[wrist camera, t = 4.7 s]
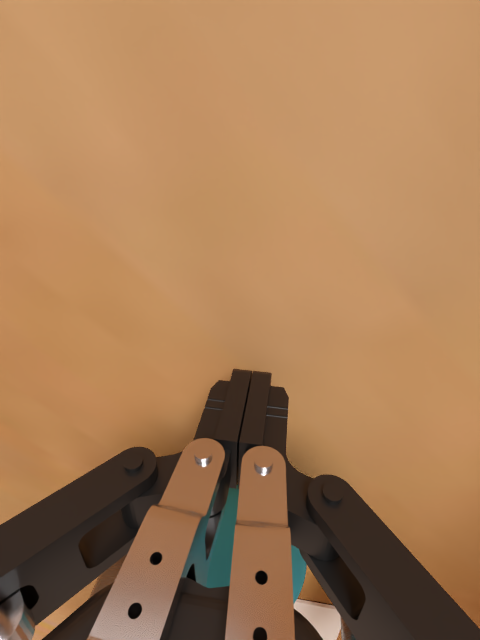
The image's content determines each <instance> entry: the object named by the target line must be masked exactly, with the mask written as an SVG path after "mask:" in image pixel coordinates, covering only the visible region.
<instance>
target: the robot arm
mask: <svg viewBox="0 0 480 640" xmlns="http://www.w3.org/2000/svg"><path fill="white" fill-rule="evenodd" d="M288 399H289V397H288V395H287V393H286V391H285V389H284V388H283V387H274V386H271V373H268V372H259V371H253V374H252V371H249V370H240V369H233V373H232V376H231V380H230V381H221V380H219V381H218V382H217V383H216V384H215V385H214V386H213V387H212V388H211V390H210V393H209V396H208V400H207V402H206V405H205V409H204V411H203V414H202V417H201V420H200V423H199V426H198V429H197V432H196V435H195V438H194V440H193V441H192V442H190V443H189V444H188V445H187V446H186V447H185V448H184V450H183V451H182V452H180V453H177V454H174V455H169V456H162V457H155V454H154V453H153V452H152V451H151V450H149V449H147V448H144V447H134V448H130V449H127V450H125V451H123V452H121V453H120V454H118V455H116V456H115V457H113V458H111V459H110V460H108V461H106V462H105V463H103V464H101V465H100V466H98V467H96V468H95V469H93V470H91V471H90V472H88V473H86V474H85V475H83V476H81V477H80V478H78V479H76V480H75V481H73V482H71V483H70V484H68V485H66V486H65V487H63V488H61V489H60V490H58V491H56V492H55V493H53V494H51V495H50V496H48V497H46V498H45V499H43V500H41V501H40V502H38V503H36V504H35V505H33V506H31V507H30V508H28V509H26V510H25V511H23V512H21V513H20V514H18V515H16V516H15V517H13V518H11V519H10V520H8V521H6V522H5V523H3V524H1V525H0V640H32V638H33V635H34V631H35V626H36V625H37V624H38V623H40V622H41V621H42V620H44V619H45V618H46V617H47V616H49V615H50V614H51V613H52V612H54V611H55V610H56V609H58V608H59V607H60V606H61V605H63V604H64V603H65V602H66V601H68V600H69V599H70V598H71V597H73V596H74V595H75V594H77V593H78V592H79V591H80V590H82V589H83V588H84V587H85V586H87V585H88V584H89V583H90V582H92V581H93V580H94V579H96V578H97V577H98V576H99V575H101V574H102V573H103V572H104V571H106V570H107V569H108V568H109V567H111V566H112V565H113V564H115V563H116V562H117V561H118V560H120V559H121V558H122V557H123V556H125V555H126V554H127V553H128V554H127V556H126V558H125V560H124V562H123V564H122V566H121V569H120V571H119V573H118V575H117V577H116V579H115V581H114V582H113V583H112V584H110V585H108V586H106V587H104V588H103V589H101V590H100V591H98V592H97V593H96V594H94V595H93V596H92V597H91V598H90V599H88V600H87V601H86V602H85V603H84V604H83V605H81V606H80V607H79V608H78V609H77V610H76V611H74V612H73V613H72V614H71V615H70V616H69V617H68V618H66V619H65V620H64V621H63V622H62V623H61V624H59V625H58V626H57V627H56V628H55V629H54V630H52V631H51V632H50V633H49V634H48V635H47V636H46V637H44V638H43V639H42V640H323V639H322V637H321V636H320V635H319V633H318V632H317V630H316V629H315V628H314V627H313V625H312V624H311V623H310V622H309V621H308V620H307V619H306V618H305V617H304V616H303V615H302V614H301V613H299V612H298V611H297V610H295V609H294V604H293V580H292V556H291V545H293V546H294V547H296V548H298V549H299V551H300V554H301V556H302V558H303V559H304V561H305V562H306V564H307V565H308V567H309V568H310V570H311V571H312V573H313V574H314V576H315V577H316V579H317V581H318V582H319V584H320V585H321V587H322V588H323V590H324V591H325V593H326V594H327V596H328V597H329V599H330V600H331V602H332V603H333V605H334V606H335V608H336V609H337V611H338V613H339V614H340V616H341V617H342V619H343V620H344V622H345V623H346V625H347V626H348V628H349V629H350V631H351V632H352V634H353V635H354V637H355V638H356V640H480V629H479V628H478V627H477V625H476V624H475V623H474V622H473V621H472V620H471V619H470V618H469V617H468V615H467V614H466V613H465V612H464V611H463V610H462V609H461V608H460V607H459V606H458V604H457V603H456V602H455V601H454V600H453V599H452V598H451V597H450V596H449V594H448V593H447V592H446V591H445V590H444V589H443V588H442V587H441V586H440V585H439V583H438V582H437V581H436V580H435V579H434V578H433V577H432V576H431V575H430V573H429V572H428V571H427V570H426V569H425V568H424V567H423V566H422V565H421V564H420V562H419V561H418V560H417V559H416V558H415V557H414V556H413V555H412V554H411V552H410V551H409V550H408V549H407V548H406V547H405V546H404V545H403V544H402V542H401V541H400V540H399V539H398V538H397V537H396V536H395V535H394V534H393V533H392V531H391V530H390V529H389V528H388V527H387V526H386V525H385V524H384V523H383V521H382V520H381V519H380V518H379V517H378V516H377V515H376V514H375V513H374V512H373V510H372V509H371V508H370V507H369V506H368V505H367V504H366V503H365V502H364V500H363V499H362V498H361V497H360V496H359V495H358V494H357V493H356V492H355V490H354V489H353V488H352V487H351V486H350V485H349V484H348V483H347V482H346V481H344V480H343V479H341V478H339V477H337V476H334V475H320V476H318V477H316V478H314V479H313V478H311V477H308V476H306V475H304V474H302V473H300V472H298V471H297V470H296V469H295V468H293V467H292V465H291V464H290V463H289V461H288V459H287V456H286V435H287V417H288ZM237 481H238V489H239V497H238V509H237V519H236V524H235V533H234V544H233V555H232V566H231V577H230V586H225V587H216V588H207V587H206V583H207V575H208V569H209V565H210V561H211V558H212V554H213V550H214V547H215V543H216V540H217V536H218V533H219V529H220V525H221V522H222V518H223V515H224V511H225V504H226V501H227V496H228V491H229V488H235V489H236V487H237Z"/></svg>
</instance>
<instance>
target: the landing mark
mask: <svg viewBox="0 0 480 640" xmlns="http://www.w3.org/2000/svg"><path fill="white" fill-rule="evenodd" d="M294 609H295V610H297V611H298V612H299V613H301V614H302V615H303V616H304V617H305V618H306V619H307V620H308V621H309V622H310V623H311V624H312V625H313V627H314V628H315V629H316V630H317V632H318V633H319V635H320V636H321V637H322V639H323V640H337V637H338V634H339V631H340V629H341V621H340V614H339V613H338V611H337V609H336V608H335V606H333V605H327V604H322V603H317V602H311V601H306V600H300V599H297V600H296V602H295V603H294Z"/></svg>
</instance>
